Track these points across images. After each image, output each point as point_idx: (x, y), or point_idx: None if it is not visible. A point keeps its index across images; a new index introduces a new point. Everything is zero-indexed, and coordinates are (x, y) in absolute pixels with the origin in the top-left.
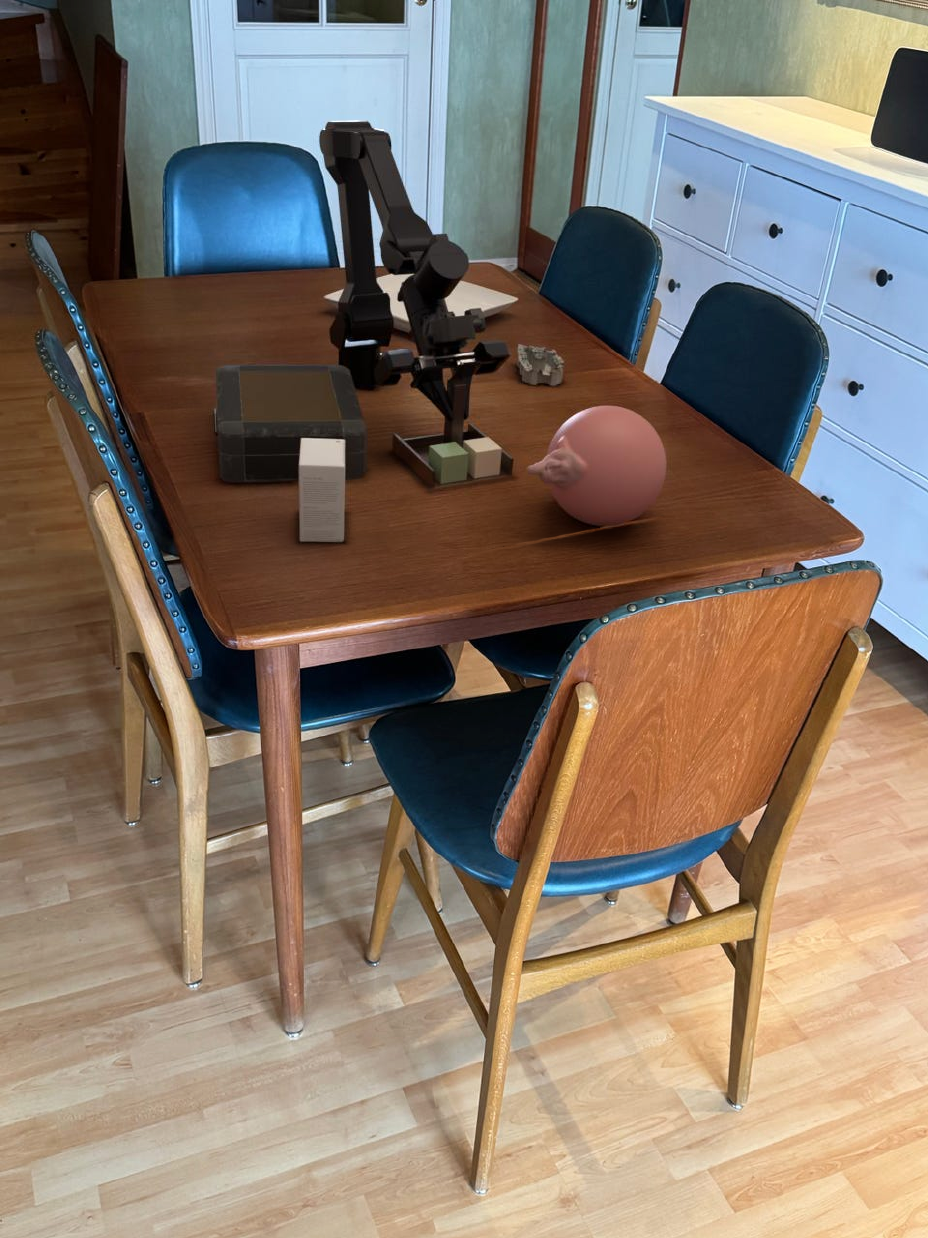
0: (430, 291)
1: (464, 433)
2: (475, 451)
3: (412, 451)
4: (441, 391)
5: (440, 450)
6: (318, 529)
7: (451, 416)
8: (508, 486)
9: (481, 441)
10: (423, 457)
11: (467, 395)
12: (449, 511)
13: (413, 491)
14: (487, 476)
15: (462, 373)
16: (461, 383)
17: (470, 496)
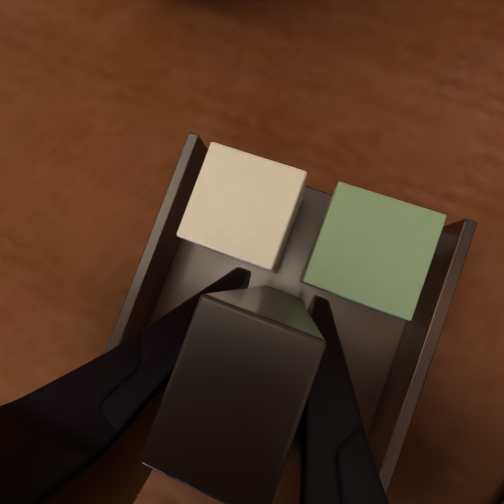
0: None
1: None
2: (303, 179)
3: (423, 379)
4: (351, 453)
5: (407, 263)
6: None
7: (329, 304)
8: (247, 132)
9: (224, 223)
10: None
11: (169, 326)
12: (482, 123)
13: (481, 267)
14: None
15: (66, 477)
16: (219, 347)
17: (370, 150)
